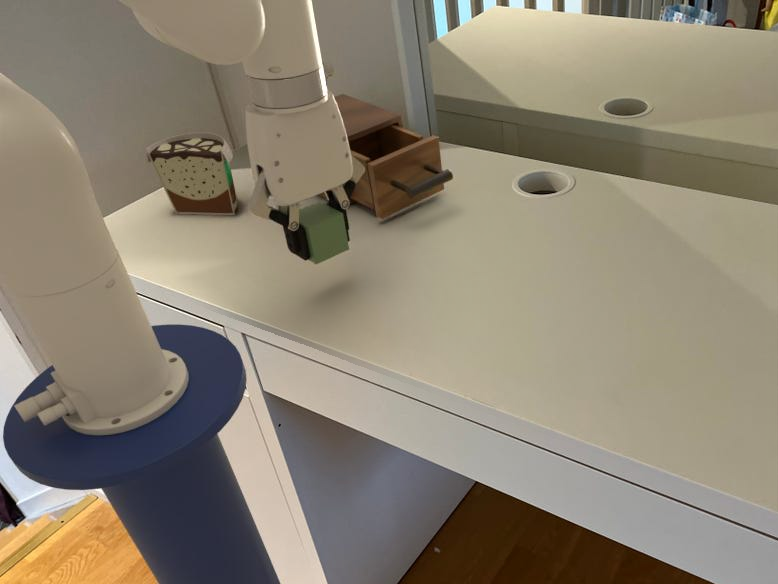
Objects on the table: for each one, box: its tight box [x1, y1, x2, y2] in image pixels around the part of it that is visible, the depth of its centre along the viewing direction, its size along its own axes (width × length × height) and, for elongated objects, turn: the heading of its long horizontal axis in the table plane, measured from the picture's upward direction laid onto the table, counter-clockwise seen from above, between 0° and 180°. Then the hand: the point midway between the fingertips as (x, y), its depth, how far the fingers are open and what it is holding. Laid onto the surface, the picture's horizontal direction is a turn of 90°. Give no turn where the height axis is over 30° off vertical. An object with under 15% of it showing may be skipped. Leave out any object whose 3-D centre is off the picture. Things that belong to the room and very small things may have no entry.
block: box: [299, 201, 350, 265], centre depth 84 cm, size 5×5×5 cm
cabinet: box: [317, 93, 404, 205], centre depth 110 cm, size 15×13×10 cm
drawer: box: [348, 124, 454, 220], centre depth 103 cm, size 18×11×8 cm, turn 44°
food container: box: [145, 132, 239, 216], centre depth 106 cm, size 12×6×10 cm, turn 80°
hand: (320, 245), depth 85 cm, fingers closed on block, 4 cm apart
